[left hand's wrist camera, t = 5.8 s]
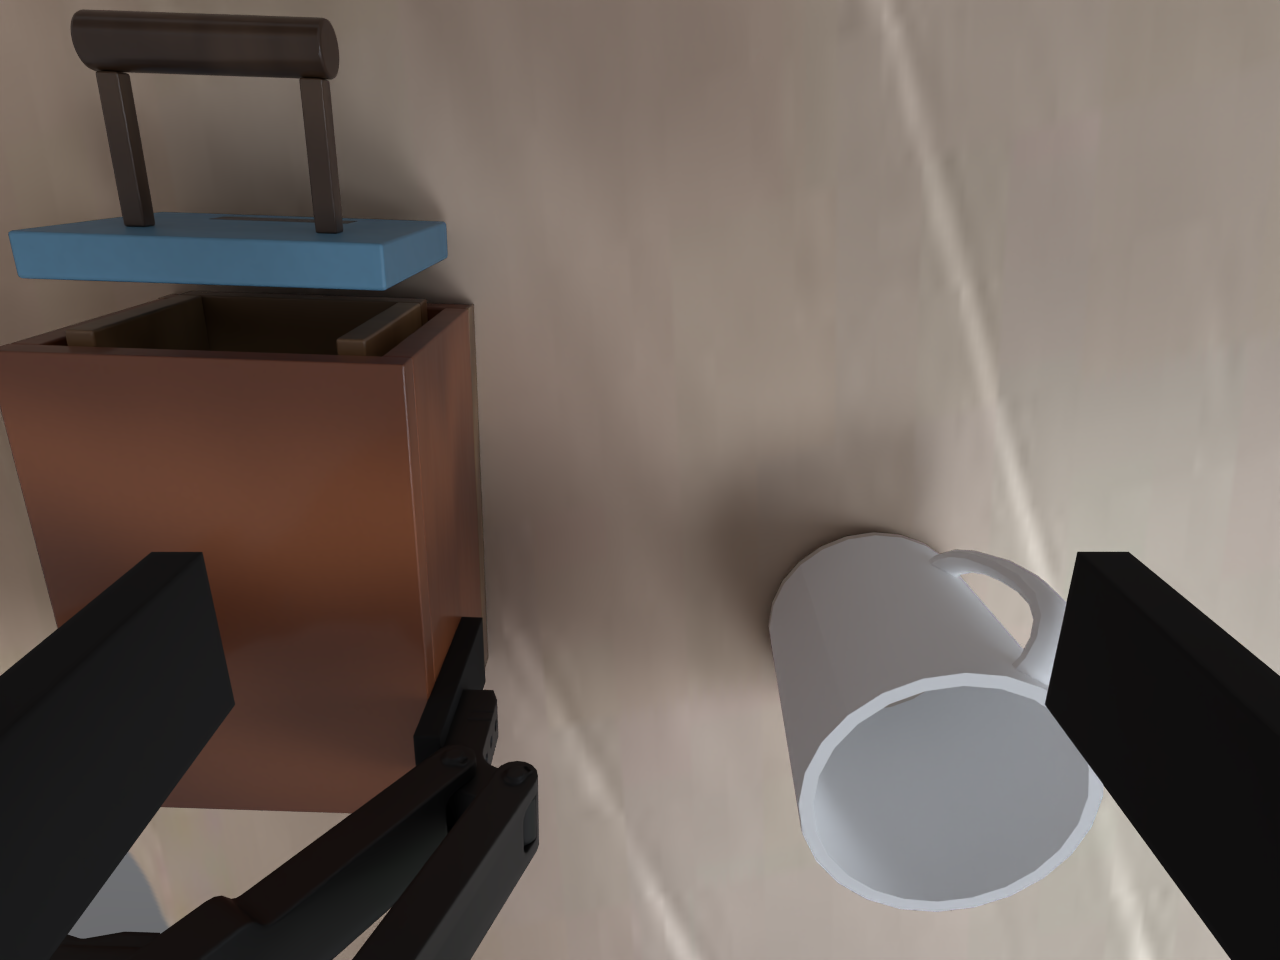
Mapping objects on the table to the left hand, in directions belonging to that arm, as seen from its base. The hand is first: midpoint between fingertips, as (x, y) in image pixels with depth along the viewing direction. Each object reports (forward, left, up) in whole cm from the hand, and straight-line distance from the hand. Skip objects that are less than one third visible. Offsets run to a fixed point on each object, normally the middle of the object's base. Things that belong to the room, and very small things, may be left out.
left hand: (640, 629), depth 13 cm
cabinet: (+5, -12, -19) cm, 23 cm away
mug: (+11, +9, -19) cm, 24 cm away
